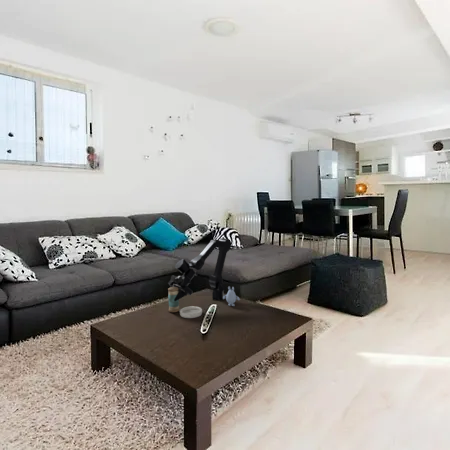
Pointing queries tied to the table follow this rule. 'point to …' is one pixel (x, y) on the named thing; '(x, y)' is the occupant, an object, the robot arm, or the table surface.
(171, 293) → the disc
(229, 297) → the toy figure
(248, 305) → the table surface
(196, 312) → the ceramic dish
